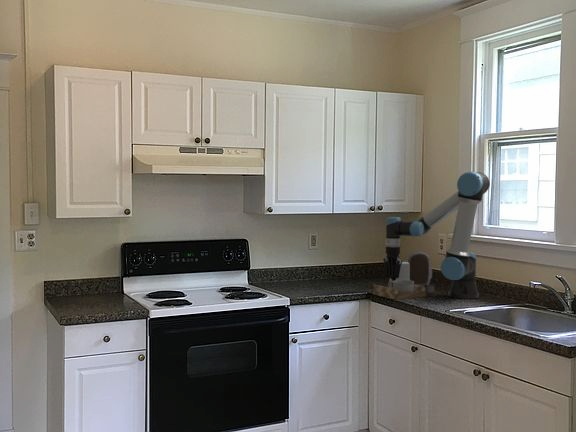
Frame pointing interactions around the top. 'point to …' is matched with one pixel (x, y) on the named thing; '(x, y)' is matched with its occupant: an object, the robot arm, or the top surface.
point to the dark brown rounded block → (420, 268)
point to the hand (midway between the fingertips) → (392, 290)
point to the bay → (393, 293)
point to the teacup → (402, 285)
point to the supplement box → (404, 271)
